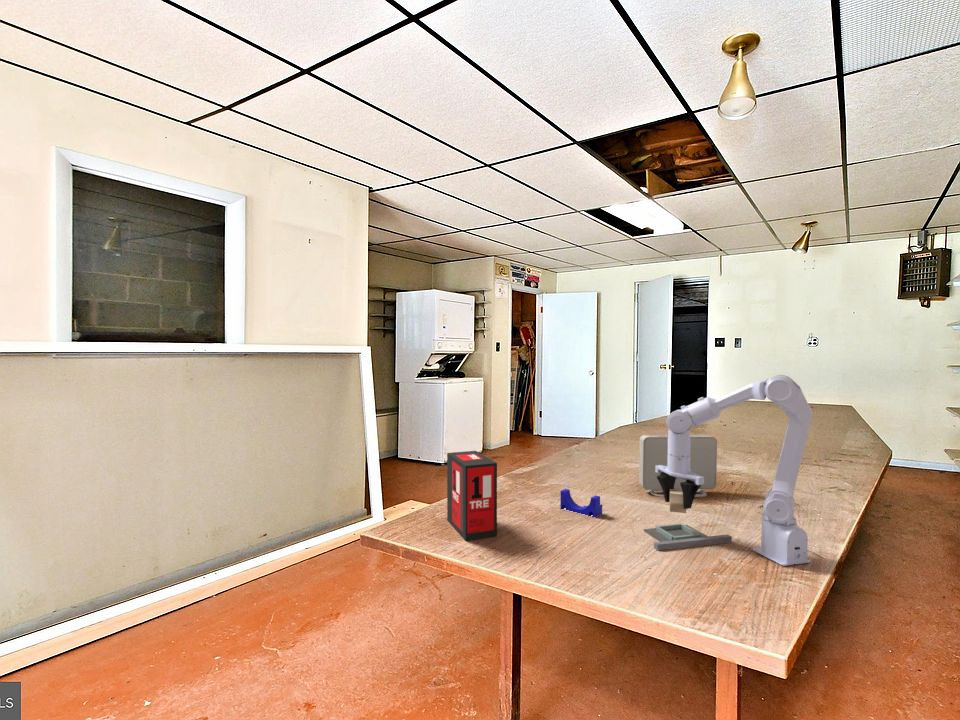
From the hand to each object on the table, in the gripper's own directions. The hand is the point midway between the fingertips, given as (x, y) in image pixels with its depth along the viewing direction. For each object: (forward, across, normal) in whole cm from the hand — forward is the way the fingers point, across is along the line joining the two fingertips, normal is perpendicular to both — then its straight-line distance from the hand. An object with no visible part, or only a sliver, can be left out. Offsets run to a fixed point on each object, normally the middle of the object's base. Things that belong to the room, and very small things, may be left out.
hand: (678, 504), depth 136 cm
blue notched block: (+9, +28, +11) cm, 31 cm away
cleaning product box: (+9, +31, +47) cm, 57 cm away
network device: (+9, +28, -31) cm, 43 cm away
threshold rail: (+8, -6, +2) cm, 11 cm away
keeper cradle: (+8, 0, 0) cm, 8 cm away
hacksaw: (+9, +1, -46) cm, 46 cm away
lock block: (+1, 0, 0) cm, 1 cm away
